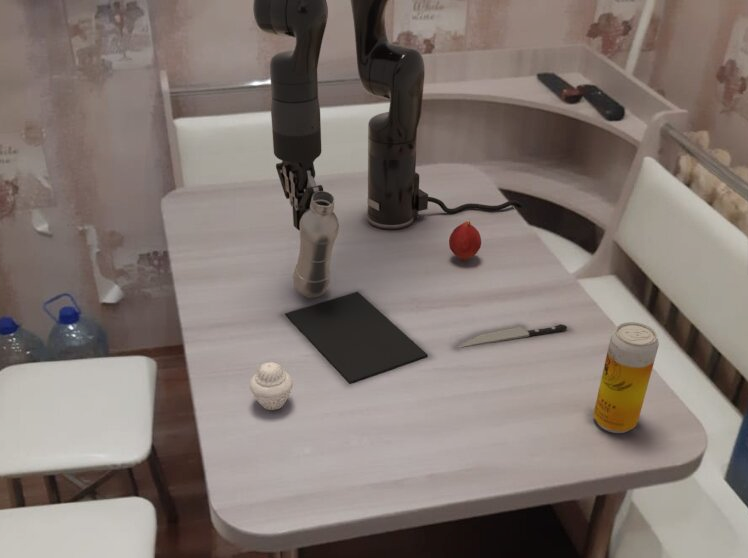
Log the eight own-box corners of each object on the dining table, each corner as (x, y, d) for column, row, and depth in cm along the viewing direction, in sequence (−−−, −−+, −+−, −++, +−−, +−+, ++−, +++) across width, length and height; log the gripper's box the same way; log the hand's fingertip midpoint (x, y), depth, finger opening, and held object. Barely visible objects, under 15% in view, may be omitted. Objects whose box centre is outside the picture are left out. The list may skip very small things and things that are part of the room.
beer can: (587, 409, 119) (606, 321, 109) (628, 407, 119) (651, 319, 110) (600, 436, 114) (621, 347, 105) (642, 434, 114) (667, 345, 105)
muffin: (275, 385, 123) (272, 346, 119) (302, 403, 120) (300, 364, 115) (242, 403, 120) (238, 364, 115) (269, 422, 116) (266, 383, 112)
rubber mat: (357, 293, 144) (357, 291, 144) (427, 356, 129) (427, 354, 129) (285, 315, 138) (285, 313, 138) (349, 383, 123) (349, 381, 123)
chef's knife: (451, 340, 133) (457, 349, 131) (451, 334, 133) (457, 343, 130) (559, 323, 137) (567, 331, 135) (560, 317, 136) (568, 325, 134)
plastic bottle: (331, 278, 146) (346, 188, 130) (325, 306, 142) (340, 216, 126) (295, 271, 145) (306, 180, 129) (288, 298, 141) (299, 208, 125)
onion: (443, 264, 152) (446, 224, 147) (453, 250, 156) (456, 210, 151) (474, 269, 150) (478, 229, 145) (483, 255, 154) (487, 216, 149)
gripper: (338, 134, 124) (340, 238, 135) (299, 108, 133) (303, 207, 144) (293, 143, 121) (298, 249, 132) (256, 116, 130) (264, 217, 141)
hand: (301, 227), depth 138 cm, fingers closed
